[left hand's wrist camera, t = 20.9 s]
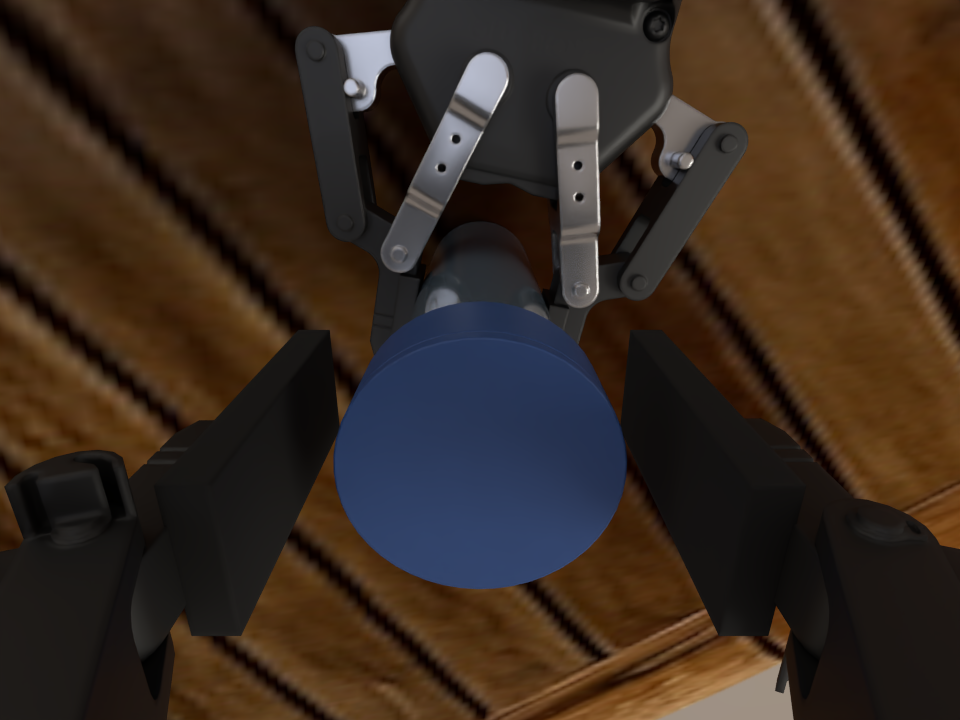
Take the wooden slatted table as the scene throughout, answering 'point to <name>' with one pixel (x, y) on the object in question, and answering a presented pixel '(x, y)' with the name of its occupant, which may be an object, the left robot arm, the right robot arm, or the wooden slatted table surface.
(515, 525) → the lid
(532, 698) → the wooden slatted table surface
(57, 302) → the wooden slatted table surface
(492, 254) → the jar
